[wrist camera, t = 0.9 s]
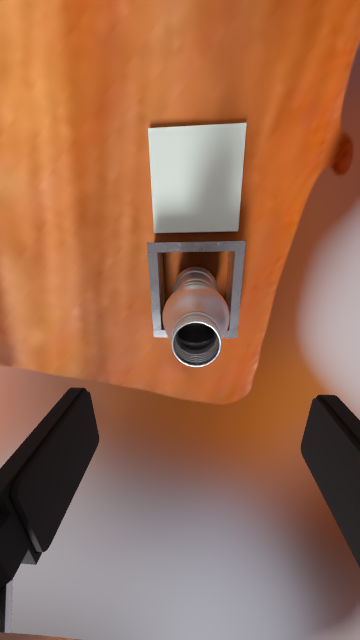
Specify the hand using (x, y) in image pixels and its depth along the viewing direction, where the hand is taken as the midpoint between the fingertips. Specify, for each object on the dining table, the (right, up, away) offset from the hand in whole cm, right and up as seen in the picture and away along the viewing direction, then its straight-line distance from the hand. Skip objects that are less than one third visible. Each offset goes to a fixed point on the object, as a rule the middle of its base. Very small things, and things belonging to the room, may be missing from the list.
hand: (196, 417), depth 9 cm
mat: (+1, +23, +19) cm, 30 cm away
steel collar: (+2, +10, +24) cm, 26 cm away
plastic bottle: (+2, +10, +24) cm, 26 cm away
